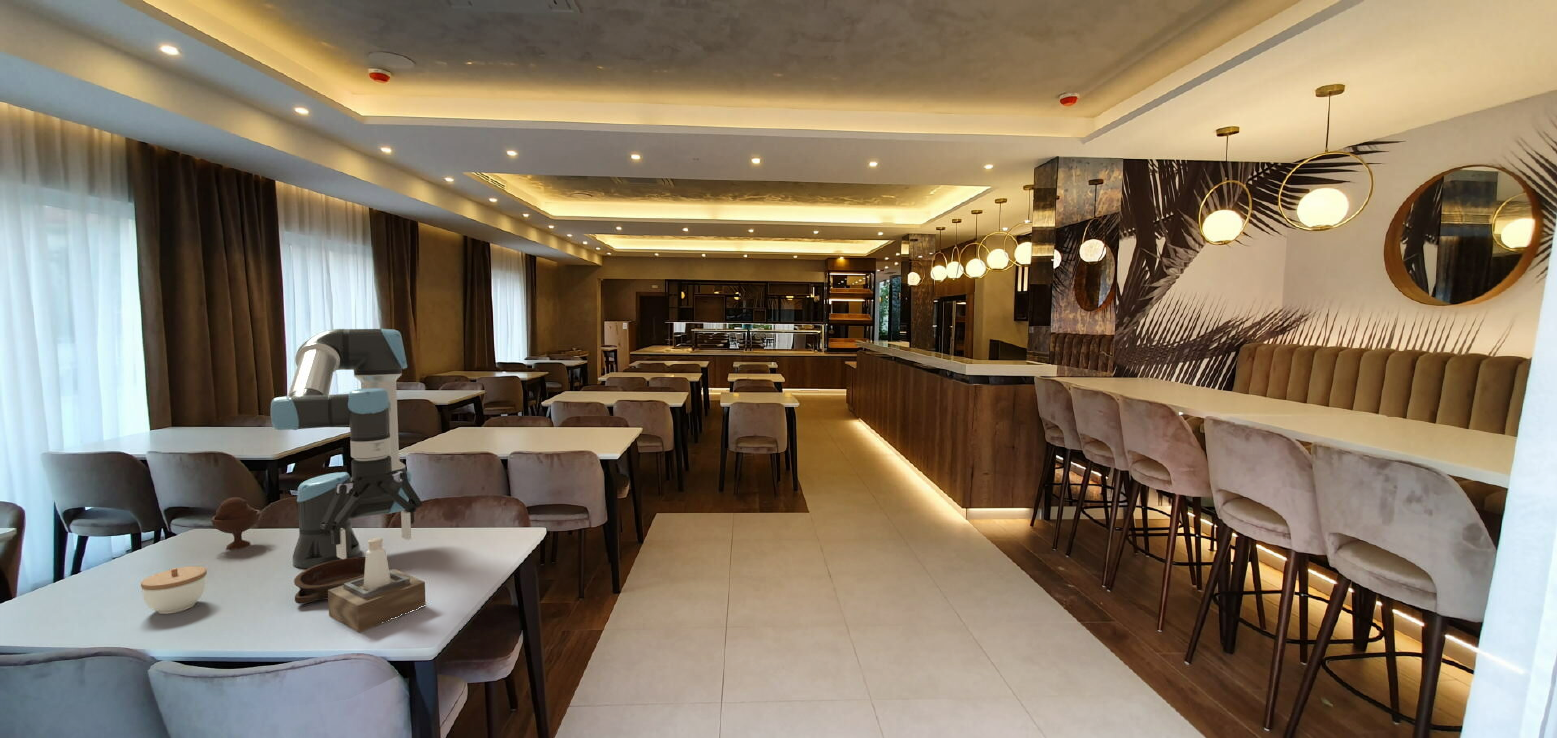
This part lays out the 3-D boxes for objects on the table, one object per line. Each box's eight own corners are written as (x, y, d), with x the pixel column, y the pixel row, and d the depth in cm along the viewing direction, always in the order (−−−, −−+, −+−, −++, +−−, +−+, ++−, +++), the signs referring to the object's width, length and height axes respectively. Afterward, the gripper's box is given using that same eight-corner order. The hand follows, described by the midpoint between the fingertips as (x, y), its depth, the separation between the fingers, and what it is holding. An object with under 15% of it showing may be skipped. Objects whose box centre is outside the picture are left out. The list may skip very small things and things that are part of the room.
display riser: (329, 615, 135) (327, 584, 135) (394, 592, 147) (393, 564, 147) (359, 632, 128) (357, 600, 128) (425, 606, 140) (424, 576, 139)
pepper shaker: (394, 585, 137) (392, 539, 137) (366, 593, 133) (364, 545, 133) (387, 578, 141) (385, 533, 140) (360, 585, 137) (358, 539, 136)
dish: (266, 605, 140) (265, 585, 140) (351, 568, 162) (350, 550, 162) (327, 613, 137) (326, 592, 136) (405, 574, 158) (405, 555, 158)
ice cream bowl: (268, 544, 178) (266, 494, 177) (219, 556, 169) (216, 504, 168) (255, 537, 184) (252, 489, 183) (207, 548, 175) (203, 498, 173)
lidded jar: (150, 623, 131) (147, 582, 130) (137, 611, 137) (134, 571, 136) (215, 604, 140) (213, 565, 139) (200, 593, 146) (197, 556, 145)
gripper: (313, 471, 122) (319, 570, 124) (436, 449, 144) (439, 534, 146) (297, 465, 126) (303, 562, 128) (419, 445, 147) (422, 528, 149)
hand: (375, 547), depth 137 cm, fingers open, 13 cm apart
